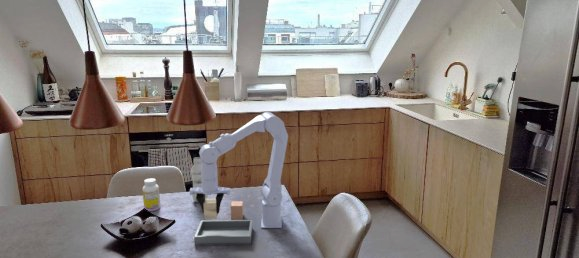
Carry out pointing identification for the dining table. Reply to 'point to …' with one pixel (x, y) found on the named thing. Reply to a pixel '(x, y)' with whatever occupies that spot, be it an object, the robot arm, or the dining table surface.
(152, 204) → the supplement bottle
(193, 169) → the plastic bottle
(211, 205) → the beech block
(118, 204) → the dining table surface
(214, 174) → the robot arm
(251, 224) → the slate tray
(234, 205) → the terracotta block
